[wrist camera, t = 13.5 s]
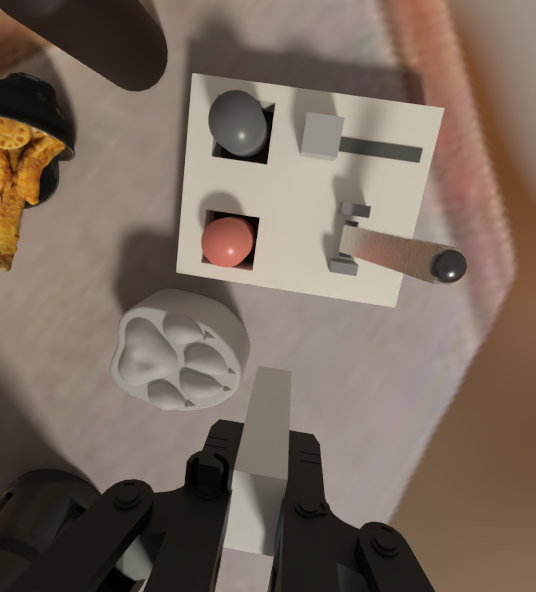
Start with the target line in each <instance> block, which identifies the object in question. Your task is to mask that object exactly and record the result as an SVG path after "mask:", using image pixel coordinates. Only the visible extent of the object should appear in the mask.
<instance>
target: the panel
mask: <svg viewBox="0 0 536 592" xmlns="http://www.w3.org/2000/svg"><path fill="white" fill-rule="evenodd" d="M230 90H241V91H244V92H247V93H248V94H250V95H251V96H253V97H254V98H255V99H256V101H257V102H258V104H259V105H260V107H261V110H262V111H266V112H273V113H274V118H273V125H272V132H271V140H270V147H269V154H268V162H267V165H266V164H259V163H252V162H246V161H239V160H232V159H225V158H221V148H222V146H221V145H220V144H219V143H218V142H217V141H216V140H215V139H214V138H213V136H212V134H211V132H210V129H209V124H208V116H209V111H210V108H211V106H212V104H213V102H214V101H215V99H216V98H217V97H218V96H220V95H221V94H223V93H224V92H227V91H230ZM307 112H311V113H318V114H325V115H332V116H339V117H345V118H344V123H343V129H342V134H341V140H340V145H339V151H338V156H337V158H336V159H335V160H334V161H330V160H323V159H316V158H309V157H303V156H301V148H302V142H303V135H304V129H305V123H306V116H307ZM443 112H444V108H439V107H432V106H425V105H418V104H410V103H403V102H396V101H389V100H382V99H375V98H368V97H360V96H353V95H346V94H339V93H332V92H325V91H317V90H310V89H303V88H296V87H289V86H282V85H274V84H267V83H260V82H253V81H246V80H239V79H231V78H224V77H217V76H210V75H203V74H196V73H192V83H191V96H190V108H189V120H188V133H187V145H186V157H185V170H184V182H183V194H182V207H181V219H180V232H179V244H178V256H177V269H176V273H182V274H188V275H194V276H200V277H207V278H213V279H219V280H225V281H232V282H238V283H244V284H251V285H257V286H263V287H269V288H276V289H282V290H288V291H294V292H301V293H307V294H313V295H319V296H326V297H332V298H338V299H344V300H351V301H357V302H363V303H369V304H376V305H382V306H388V307H394V308H395V305H396V301H397V297H398V293H399V289H400V285H401V281H402V277H403V273H400V272H397V271H395V270H392V269H389V268H386V267H383V266H380V265H377V264H374V263H371V262H368V261H365V260H362V259H359V258H357V257H354V256H352V258H347V257H342V256H339V248H340V243H341V237H342V232H343V227H344V225H345V221H346V220H349V221H355V222H359V225H358V227H363V228H367V229H372V230H376V231H381V232H386V233H390V234H395V235H400V236H404V237H409V238H412V237H413V233H414V229H415V225H416V221H417V217H418V213H419V209H420V205H421V201H422V197H423V193H424V188H425V184H426V180H427V176H428V172H429V168H430V164H431V160H432V156H433V152H434V148H435V144H436V140H437V136H438V132H439V128H440V124H441V120H442V116H443ZM215 211H220V212H226V213H233V214H239V215H246V216H252V217H259V218H260V220H259V227H258V235H257V242H256V249H255V257H254V264H253V263H247V262H240V263H239V264H237V265H235V266H232V267H219V266H217V265H215V264H213V263H211V262H210V261H209V260H208V259H207V258H206V256H205V255H204V253H203V250H202V247H201V238H202V234H203V232H204V230H205V228H206V227H207V226H208V225H209V224H210V223H212V222H213V221H214V215H215Z"/></svg>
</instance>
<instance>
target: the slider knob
mask: <svg viewBox="0 0 536 592" xmlns="http://www.w3.org/2000/svg"><path fill="white" fill-rule="evenodd" d="M344 118H345V117H339V116H332V115H325V114H318V113H311V112H307V116H306V123H305V129H304V135H303V142H302V148H301V156H303V157H309V158H316V159H323V160H330V161H334V160H335V159H336V158H337V156H338V151H339V145H340V140H341V134H342V129H343V123H344Z"/></svg>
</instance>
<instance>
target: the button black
mask: <svg viewBox="0 0 536 592" xmlns="http://www.w3.org/2000/svg"><path fill="white" fill-rule="evenodd" d="M208 124H209V129H210V132H211V134H212V136H213V138H214V139H215V140H216V141H217V142H218V143H219V144H220V145H221V146H222V147H224V148H225V149H227V150H228V151H229V152H231V153H232V154H233V155H235V156H237V157H241V158H250V157H253V156H255V155H257V154H258V153H260V152H261V151H262V150H263V148H264V147H265V145H266V143H267V140H268V126H267V123H266V120H265V118H264V115H263V112H262V110H261V107H260V105H259V104H258V102H257V101H256V99H255V98H254V97H253V96H251V95H250V94H248V93H247V92H244V91H241V90H230V91H227V92H224V93H223V94H221V95H220V96H218V97H217V98H216V99H215V101H214V102H213V104H212V106H211V108H210V111H209V116H208Z"/></svg>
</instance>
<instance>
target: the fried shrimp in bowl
mask: <svg viewBox="0 0 536 592" xmlns="http://www.w3.org/2000/svg"><path fill="white" fill-rule="evenodd" d="M74 156H75V151H74V149H73V147H72V145H71V143H70V126H69V124H68V123H67V122H66V120H65V118H64V116H63V114H62V111H61V109H60V108H59V106H58V104H57V102H56V95H55V90H54V89H53V87H52V86H51V85H50V84H49V83H46V82H44V81H41V80H40V79H38V78H36V77H33V76H31V75H28V74H25V73H23V72H18V73H10V74H9V75H8V77H7V78H5V79H2V80H0V268H1V269H2V270H3V271H10V269H11V265H12V261H13V259H14V253H15V252H16V251H17V246H16V243H17V241H18V239H19V238H20V236H19V222H20V216H21V213H22V210H23V209H28V208H33V207H36V206H38V205H40V204H42V203H44V202H46V201H47V200H49V199H50V198H51V197H52V195H53V194H54V193H55V191H56V189H57V186H58V183H59V170H58V164H57V161H69V160H72V159H73V158H74Z"/></svg>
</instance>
